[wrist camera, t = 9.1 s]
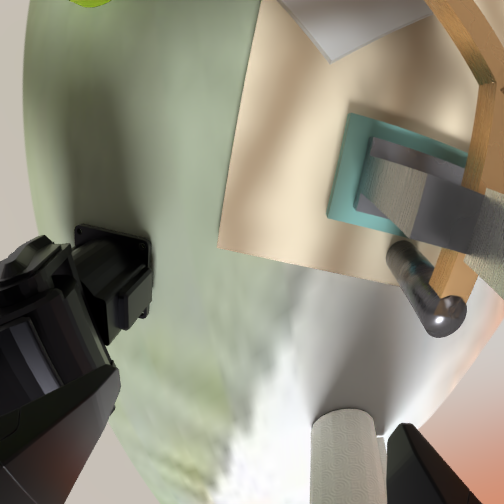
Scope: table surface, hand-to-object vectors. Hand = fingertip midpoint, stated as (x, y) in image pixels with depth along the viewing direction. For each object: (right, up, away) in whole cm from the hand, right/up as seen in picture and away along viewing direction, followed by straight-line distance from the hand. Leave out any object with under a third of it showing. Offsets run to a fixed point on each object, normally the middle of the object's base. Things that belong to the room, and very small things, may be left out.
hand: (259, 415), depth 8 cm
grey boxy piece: (+10, +8, +7) cm, 15 cm away
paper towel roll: (+9, -12, +18) cm, 23 cm away
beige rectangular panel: (+8, +15, +7) cm, 18 cm away
